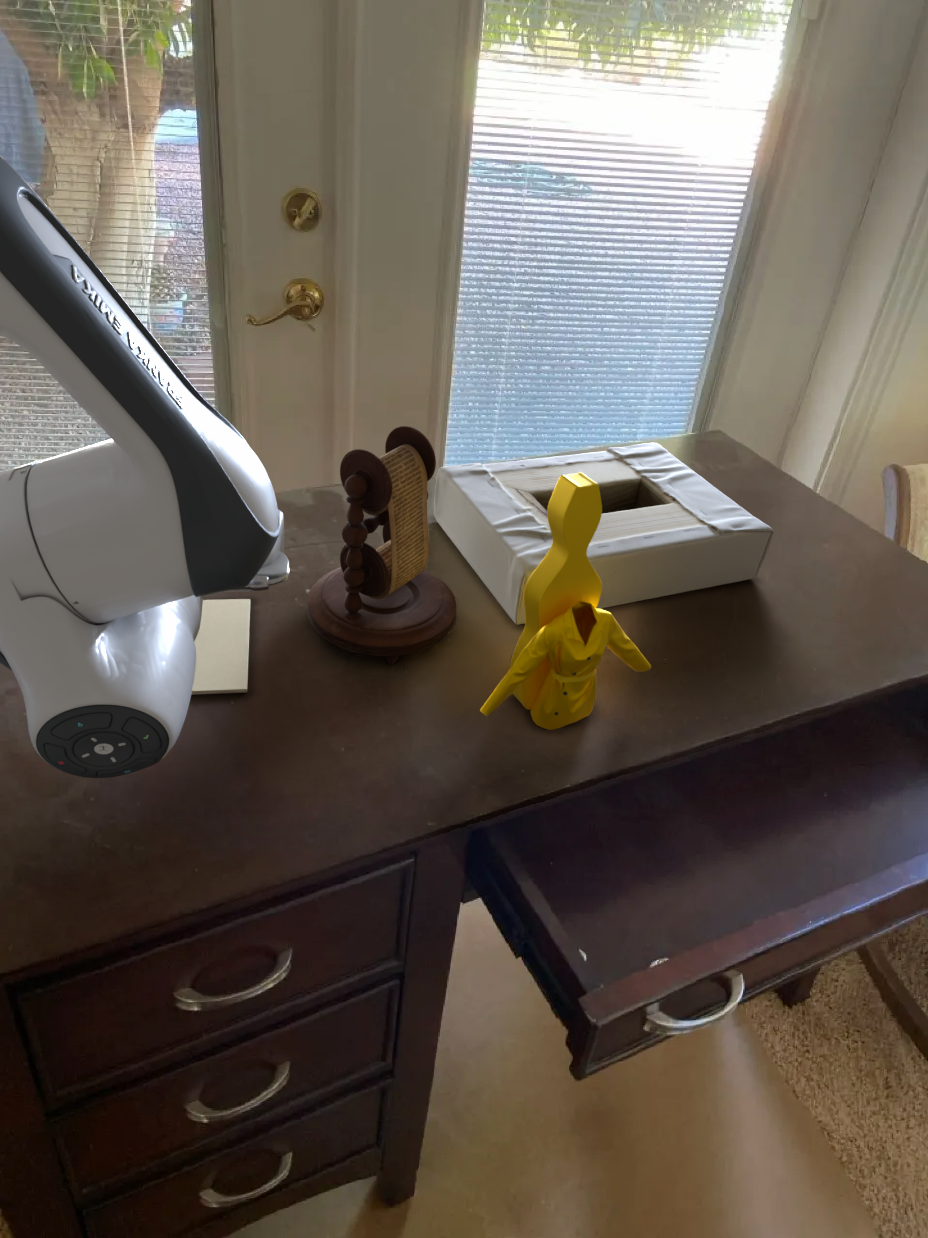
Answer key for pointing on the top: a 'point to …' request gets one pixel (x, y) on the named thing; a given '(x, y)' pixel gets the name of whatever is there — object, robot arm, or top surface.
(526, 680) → the yellow coat with case
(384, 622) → the scroll
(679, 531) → the box
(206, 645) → the linen mat
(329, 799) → the top surface
